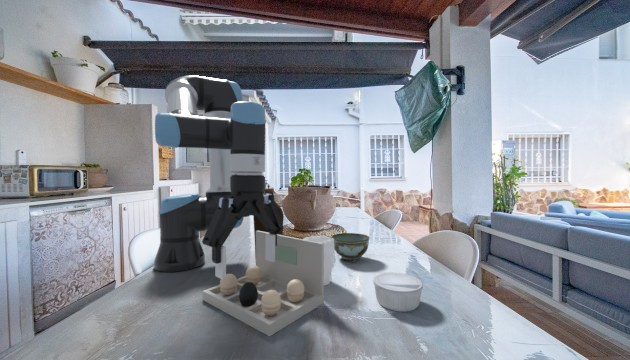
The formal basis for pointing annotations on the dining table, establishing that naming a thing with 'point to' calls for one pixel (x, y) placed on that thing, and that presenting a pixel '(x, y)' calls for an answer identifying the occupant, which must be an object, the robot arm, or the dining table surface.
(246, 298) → the egg
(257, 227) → the olive oil
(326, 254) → the cup
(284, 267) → the carton
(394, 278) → the ramekin
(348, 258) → the bowl
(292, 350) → the dining table surface
